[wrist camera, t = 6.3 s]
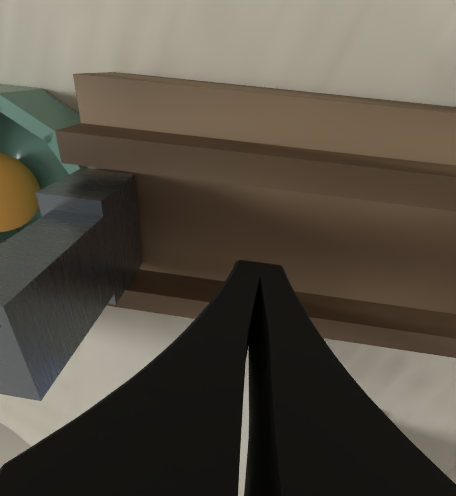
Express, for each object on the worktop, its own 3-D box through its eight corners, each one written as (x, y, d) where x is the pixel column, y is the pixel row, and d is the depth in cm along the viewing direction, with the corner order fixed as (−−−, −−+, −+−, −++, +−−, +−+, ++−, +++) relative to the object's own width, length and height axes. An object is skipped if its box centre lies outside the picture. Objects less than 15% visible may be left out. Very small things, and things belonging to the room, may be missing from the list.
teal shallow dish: (126, 257, 17) (106, 284, 15) (-11, 238, 18) (-49, 261, 16) (109, 95, 13) (77, 101, 11) (-71, 76, 13) (-136, 78, 11)
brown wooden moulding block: (454, 316, 17) (510, 392, 13) (133, 270, 18) (94, 327, 14) (580, 120, 11) (737, 147, 8) (113, 72, 12) (43, 74, 9)
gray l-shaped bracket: (142, 264, 13) (45, 412, 8) (97, 258, 13) (-31, 399, 8) (135, 174, 11) (-6, 285, 5) (82, 167, 11) (-108, 270, 6)
